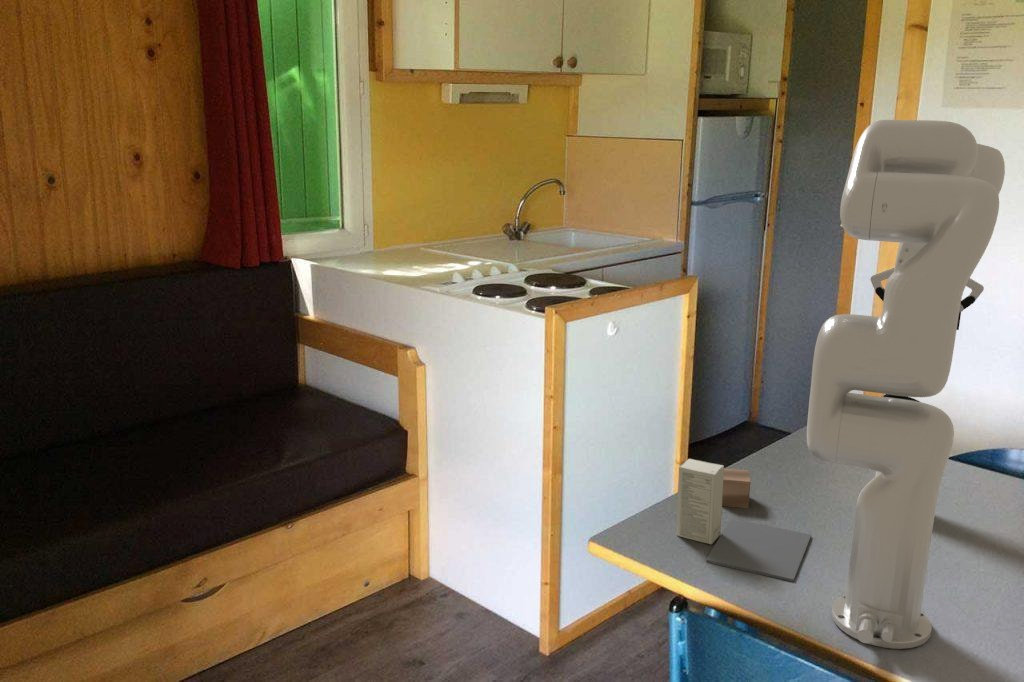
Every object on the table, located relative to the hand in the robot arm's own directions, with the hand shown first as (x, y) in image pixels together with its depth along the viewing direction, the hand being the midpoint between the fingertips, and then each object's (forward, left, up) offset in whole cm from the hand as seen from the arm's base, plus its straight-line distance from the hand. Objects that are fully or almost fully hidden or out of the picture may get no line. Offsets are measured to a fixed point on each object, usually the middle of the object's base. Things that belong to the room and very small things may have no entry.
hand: (919, 330), depth 156 cm
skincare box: (-30, +28, -31) cm, 52 cm away
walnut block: (-14, +26, -31) cm, 43 cm away
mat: (-30, +18, -31) cm, 47 cm away
